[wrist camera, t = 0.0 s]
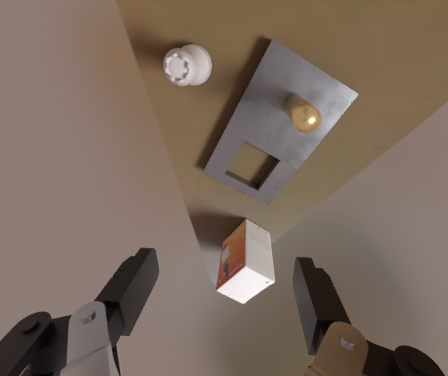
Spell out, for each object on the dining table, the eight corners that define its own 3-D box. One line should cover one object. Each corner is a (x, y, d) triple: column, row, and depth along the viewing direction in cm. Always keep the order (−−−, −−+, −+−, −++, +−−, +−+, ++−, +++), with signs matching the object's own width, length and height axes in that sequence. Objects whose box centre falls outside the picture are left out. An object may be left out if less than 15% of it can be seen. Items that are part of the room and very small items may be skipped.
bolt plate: (271, 39, 25) (282, 31, 17) (353, 92, 27) (398, 107, 19) (204, 168, 34) (190, 202, 26) (268, 200, 36) (273, 241, 28)
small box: (246, 217, 39) (245, 265, 30) (270, 231, 40) (276, 282, 31) (221, 242, 43) (214, 291, 34) (244, 254, 44) (243, 305, 35)
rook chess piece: (178, 83, 28) (156, 92, 21) (176, 42, 26) (150, 38, 19) (212, 86, 28) (200, 95, 21) (212, 44, 26) (199, 41, 19)
